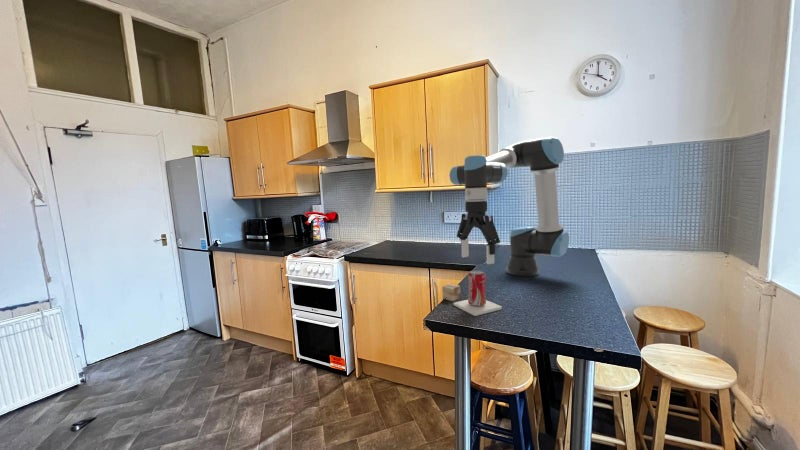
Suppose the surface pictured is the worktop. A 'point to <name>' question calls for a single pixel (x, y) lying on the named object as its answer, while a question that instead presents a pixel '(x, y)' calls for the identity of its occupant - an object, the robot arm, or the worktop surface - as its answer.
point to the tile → (477, 307)
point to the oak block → (451, 292)
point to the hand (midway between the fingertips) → (477, 260)
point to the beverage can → (476, 288)
